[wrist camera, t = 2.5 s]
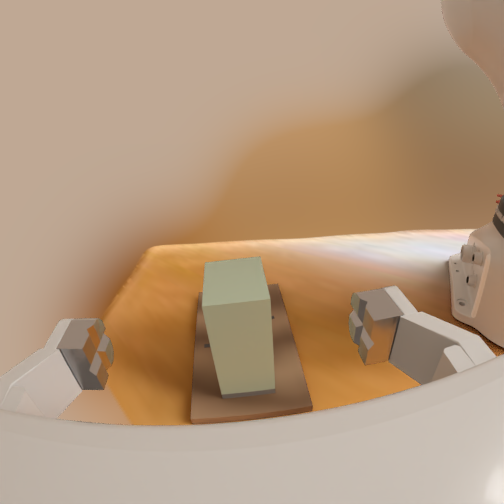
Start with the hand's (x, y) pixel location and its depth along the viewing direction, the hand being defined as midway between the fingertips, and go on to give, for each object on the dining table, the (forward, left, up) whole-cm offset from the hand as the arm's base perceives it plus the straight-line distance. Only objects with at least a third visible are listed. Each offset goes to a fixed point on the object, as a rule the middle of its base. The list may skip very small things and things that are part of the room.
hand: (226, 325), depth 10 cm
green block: (-11, -5, -16) cm, 20 cm away
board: (-16, -6, -17) cm, 24 cm away
